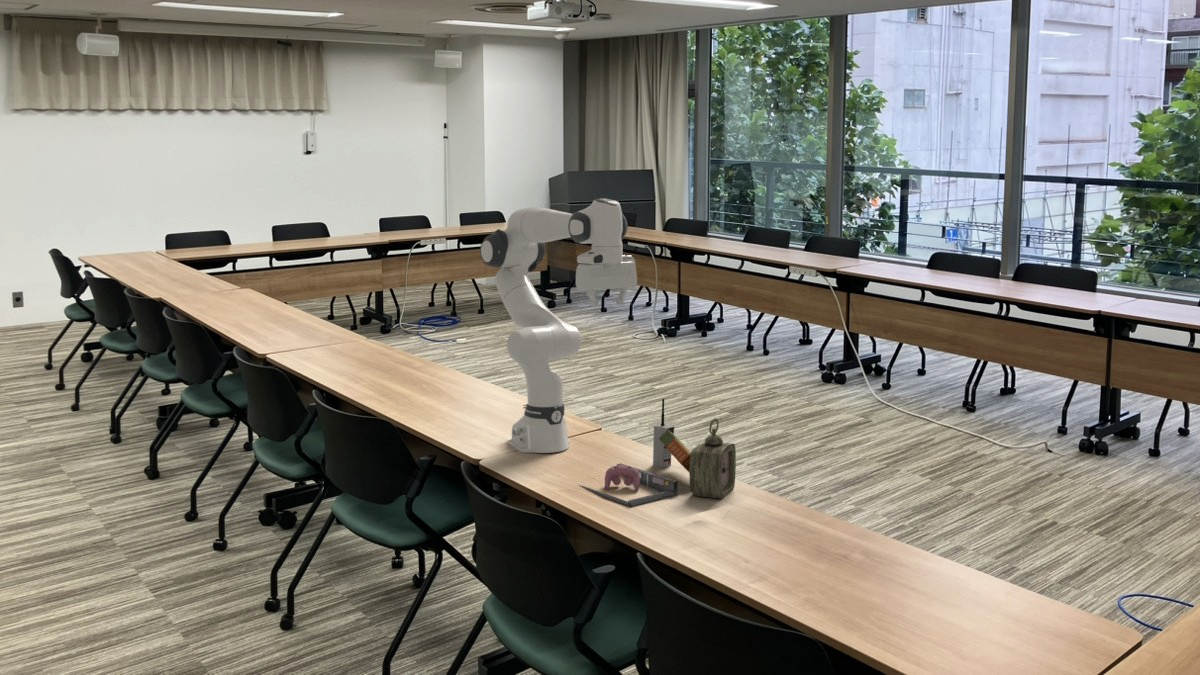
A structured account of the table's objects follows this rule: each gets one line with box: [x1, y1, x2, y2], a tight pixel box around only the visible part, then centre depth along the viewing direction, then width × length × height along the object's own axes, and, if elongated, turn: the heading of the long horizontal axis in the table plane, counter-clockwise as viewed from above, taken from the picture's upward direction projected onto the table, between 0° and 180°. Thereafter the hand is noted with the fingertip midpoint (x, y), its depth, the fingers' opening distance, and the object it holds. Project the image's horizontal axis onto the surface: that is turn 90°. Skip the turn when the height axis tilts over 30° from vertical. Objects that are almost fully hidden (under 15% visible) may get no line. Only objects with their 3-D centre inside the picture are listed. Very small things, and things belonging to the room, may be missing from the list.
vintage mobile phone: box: [652, 398, 675, 469], centre depth 308 cm, size 4×5×25 cm
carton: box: [659, 430, 691, 473], centre depth 298 cm, size 8×16×4 cm
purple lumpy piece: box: [604, 464, 640, 492], centre depth 289 cm, size 10×5×7 cm, turn 84°
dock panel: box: [581, 462, 679, 508], centre depth 288 cm, size 24×17×4 cm
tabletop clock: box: [688, 418, 737, 500], centre depth 285 cm, size 14×9×25 cm, turn 155°
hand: (607, 304), depth 293 cm, fingers open, 8 cm apart
